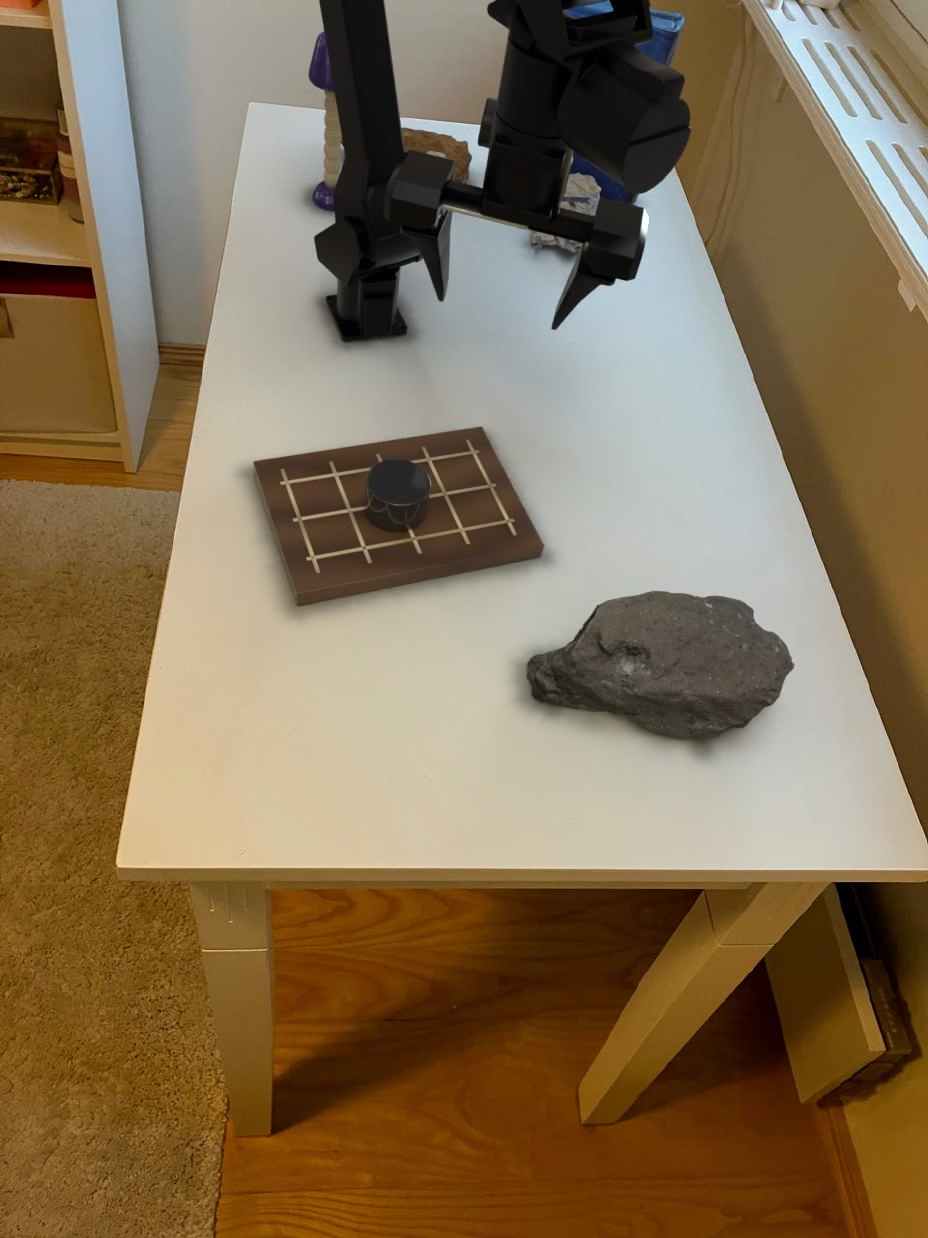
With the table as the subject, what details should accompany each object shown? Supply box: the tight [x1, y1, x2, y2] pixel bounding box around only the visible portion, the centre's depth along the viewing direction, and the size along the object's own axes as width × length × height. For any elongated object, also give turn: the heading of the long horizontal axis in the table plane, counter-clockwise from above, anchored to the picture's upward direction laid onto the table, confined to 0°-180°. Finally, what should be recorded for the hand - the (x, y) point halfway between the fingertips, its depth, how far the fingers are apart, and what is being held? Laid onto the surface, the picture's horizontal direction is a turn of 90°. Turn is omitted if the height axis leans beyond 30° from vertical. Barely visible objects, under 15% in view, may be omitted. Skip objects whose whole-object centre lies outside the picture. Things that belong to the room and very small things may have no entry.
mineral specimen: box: [531, 173, 601, 254], centre depth 104 cm, size 15×8×4 cm, turn 174°
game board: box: [252, 425, 545, 607], centre depth 77 cm, size 14×20×2 cm
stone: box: [526, 590, 795, 740], centre depth 68 cm, size 18×9×10 cm
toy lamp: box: [308, 30, 342, 212], centre depth 97 cm, size 5×5×17 cm
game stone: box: [364, 459, 431, 531], centre depth 75 cm, size 5×5×3 cm
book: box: [564, 0, 685, 205], centre depth 103 cm, size 14×5×20 cm, turn 71°
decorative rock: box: [340, 127, 473, 184], centre depth 108 cm, size 11×4×15 cm
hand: (498, 312), depth 76 cm, fingers open, 9 cm apart
